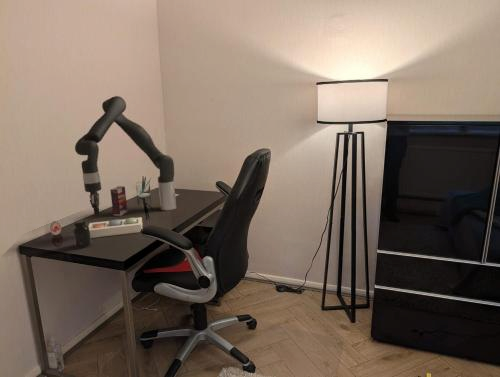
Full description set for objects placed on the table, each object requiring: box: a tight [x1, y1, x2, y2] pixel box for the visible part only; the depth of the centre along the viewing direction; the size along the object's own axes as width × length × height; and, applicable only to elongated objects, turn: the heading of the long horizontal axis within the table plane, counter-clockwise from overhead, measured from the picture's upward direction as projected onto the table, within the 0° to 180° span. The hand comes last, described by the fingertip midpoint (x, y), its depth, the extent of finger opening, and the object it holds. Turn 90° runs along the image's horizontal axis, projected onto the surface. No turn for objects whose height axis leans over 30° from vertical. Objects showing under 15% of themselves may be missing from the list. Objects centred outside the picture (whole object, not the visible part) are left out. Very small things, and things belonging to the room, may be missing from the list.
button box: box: [87, 217, 143, 239], centre depth 182 cm, size 26×12×4 cm, turn 105°
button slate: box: [108, 219, 121, 227], centre depth 182 cm, size 6×6×3 cm
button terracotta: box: [93, 224, 105, 228], centre depth 180 cm, size 6×6×3 cm
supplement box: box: [110, 185, 129, 217], centre depth 210 cm, size 9×5×16 cm, turn 168°
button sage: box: [125, 217, 138, 225], centre depth 184 cm, size 6×6×3 cm
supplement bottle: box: [72, 219, 92, 249], centre depth 164 cm, size 7×7×12 cm
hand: (97, 214), depth 178 cm, fingers closed
